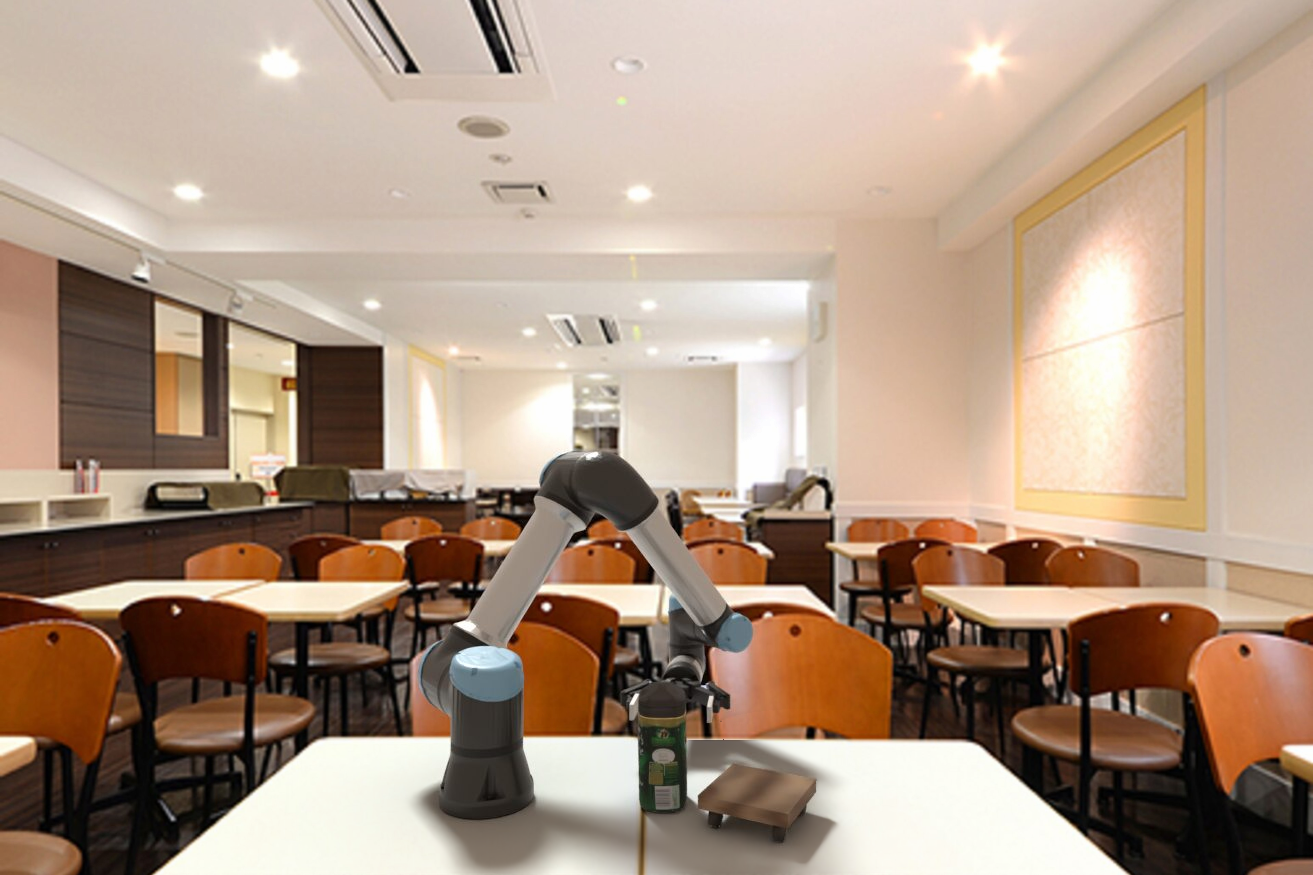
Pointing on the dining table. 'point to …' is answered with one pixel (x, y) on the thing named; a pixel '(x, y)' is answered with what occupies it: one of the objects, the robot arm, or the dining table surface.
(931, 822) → the dining table surface
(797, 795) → the caster dolly
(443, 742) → the dining table surface
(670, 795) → the coffee jar
